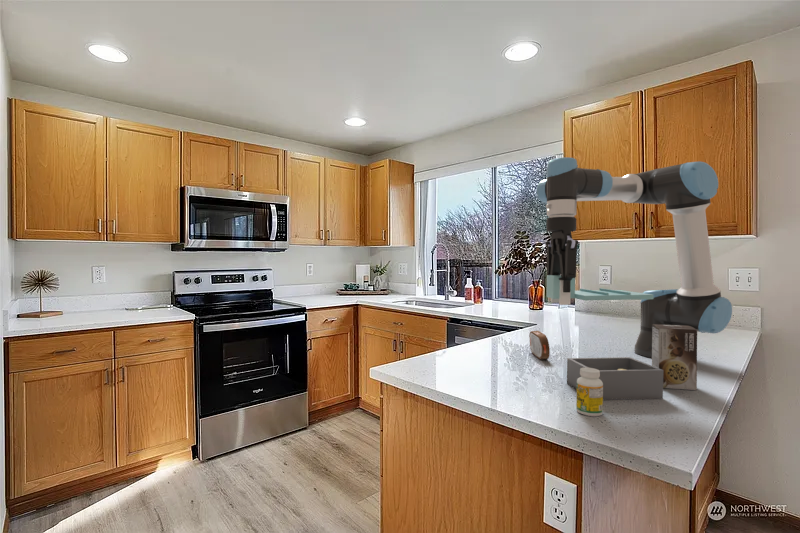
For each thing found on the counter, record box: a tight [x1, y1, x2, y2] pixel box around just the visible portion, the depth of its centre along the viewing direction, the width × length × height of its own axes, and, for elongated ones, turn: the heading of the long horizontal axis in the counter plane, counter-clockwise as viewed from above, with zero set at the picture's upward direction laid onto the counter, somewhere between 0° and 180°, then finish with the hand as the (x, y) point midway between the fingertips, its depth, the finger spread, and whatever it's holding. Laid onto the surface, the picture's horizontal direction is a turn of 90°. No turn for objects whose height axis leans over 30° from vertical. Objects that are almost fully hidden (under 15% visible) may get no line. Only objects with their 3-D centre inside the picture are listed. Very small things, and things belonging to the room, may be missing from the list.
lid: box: [546, 274, 653, 301], centre depth 115 cm, size 25×14×6 cm, turn 96°
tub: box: [566, 356, 664, 401], centre depth 109 cm, size 18×13×7 cm
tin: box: [528, 330, 551, 360], centre depth 146 cm, size 15×3×8 cm, turn 179°
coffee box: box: [651, 324, 698, 391], centre depth 114 cm, size 9×6×16 cm
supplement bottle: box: [575, 368, 604, 417], centre depth 94 cm, size 5×5×10 cm
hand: (560, 303), depth 114 cm, fingers closed on lid, 4 cm apart
